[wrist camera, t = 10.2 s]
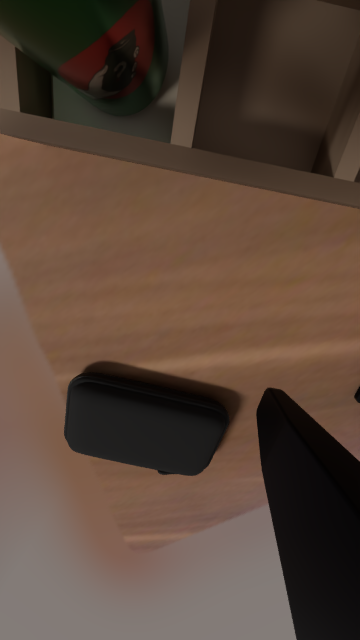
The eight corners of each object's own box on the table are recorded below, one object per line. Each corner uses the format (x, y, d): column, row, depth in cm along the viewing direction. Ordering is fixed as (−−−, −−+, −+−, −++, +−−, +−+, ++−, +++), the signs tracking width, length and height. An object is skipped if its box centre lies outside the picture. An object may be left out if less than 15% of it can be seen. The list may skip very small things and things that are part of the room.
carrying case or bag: (69, 437, 29) (200, 465, 30) (56, 464, 26) (201, 493, 27) (76, 359, 24) (233, 395, 25) (62, 381, 21) (238, 421, 22)
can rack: (431, 223, 17) (493, 234, 14) (42, 144, 16) (0, 133, 13) (552, 17, 13) (687, -45, 9) (30, -110, 12) (-39, -234, 8)
